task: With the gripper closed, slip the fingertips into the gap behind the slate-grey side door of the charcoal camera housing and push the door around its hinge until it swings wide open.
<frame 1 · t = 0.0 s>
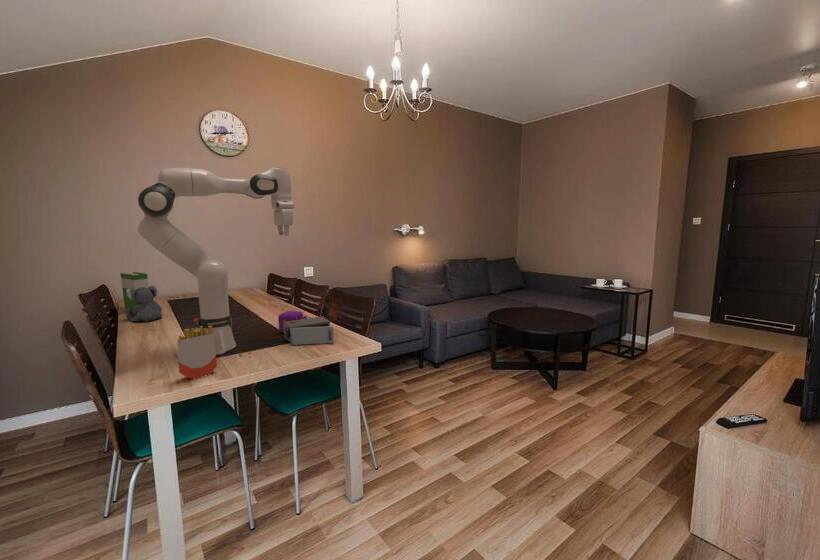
hand: (283, 235, 169), 48 cm above the table, tool pointing down, fingers open, 8 cm apart
green and white box: (138, 311, 229), on the table
side door: (312, 335, 163), point 4 cm above the table, hinge at 25.0°
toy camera: (294, 331, 184), on the table
french fries container: (199, 376, 131), on the table
koala plush: (147, 319, 210), on the table
camera housing: (308, 337, 173), on the table
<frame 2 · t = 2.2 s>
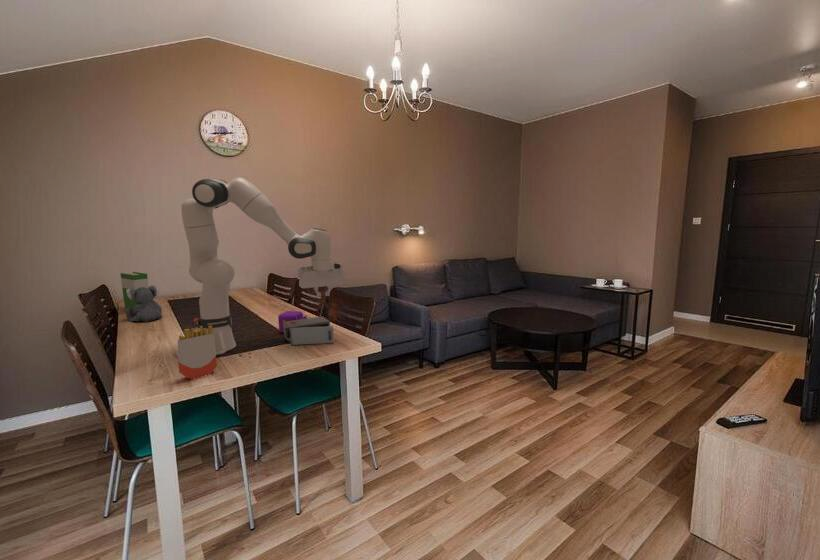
hand: (323, 296, 164), 21 cm above the table, tool pointing down, fingers open, 3 cm apart
nothing on the table moved.
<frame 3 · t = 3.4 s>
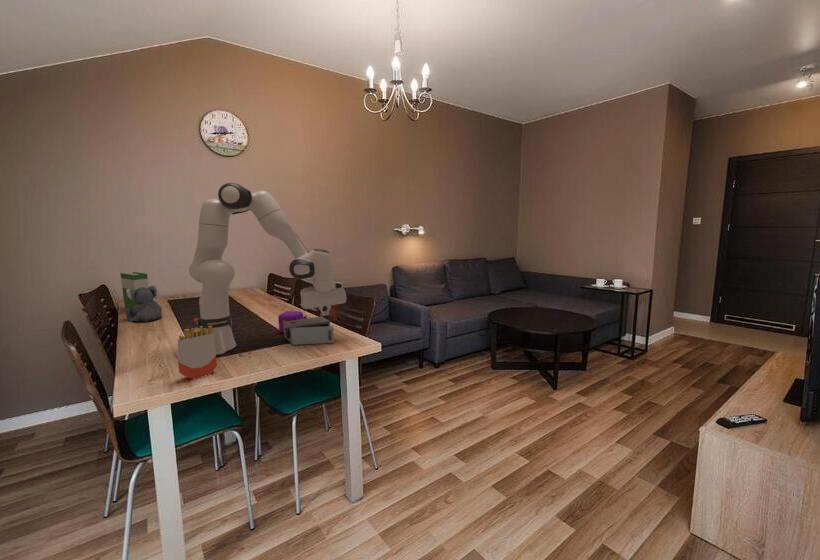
hand: (325, 315, 166), 12 cm above the table, tool pointing down, fingers closed
nothing on the table moved.
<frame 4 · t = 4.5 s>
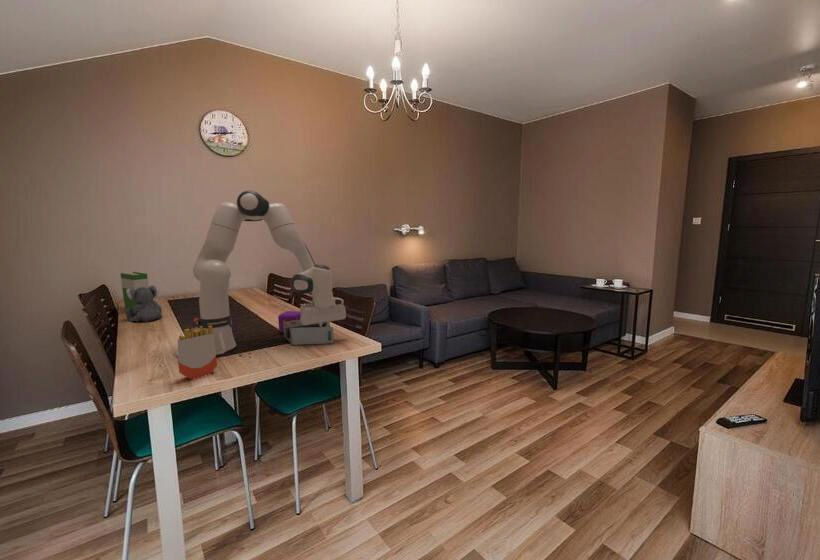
hand: (324, 331, 165), 5 cm above the table, tool pointing down, fingers closed
side door: (311, 336, 162), point 4 cm above the table, hinge at 27.6°, touching gripper
everything else where it was.
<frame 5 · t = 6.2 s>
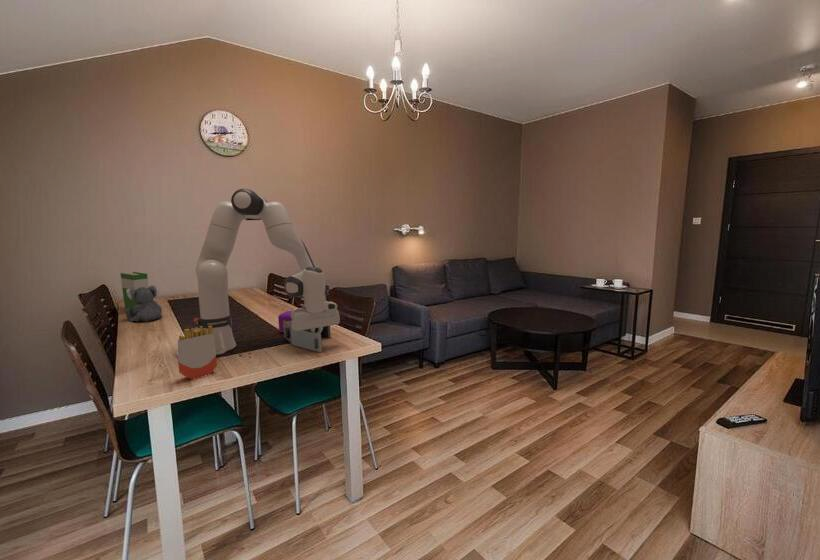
hand: (316, 337, 157), 5 cm above the table, tool pointing down, fingers closed
side door: (304, 340, 157), point 4 cm above the table, hinge at 66.7°, touching gripper
everything else where it was.
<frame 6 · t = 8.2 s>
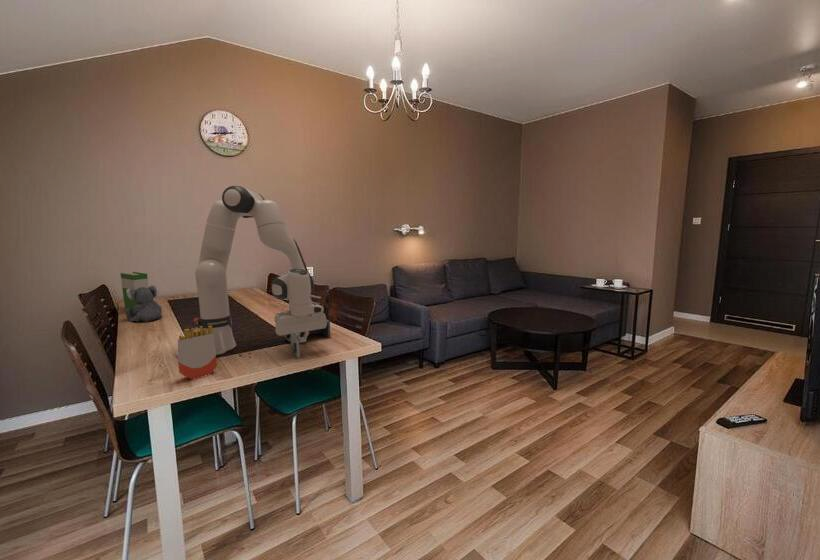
hand: (302, 342, 151), 5 cm above the table, tool pointing down, fingers closed
side door: (293, 342, 154), point 4 cm above the table, hinge at 97.9°, touching gripper
everything else where it was.
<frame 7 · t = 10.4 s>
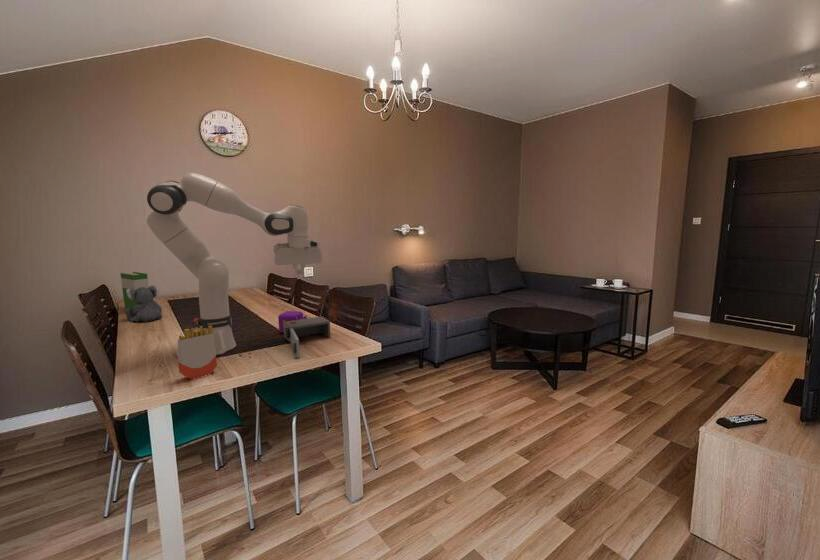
hand: (299, 274, 163), 31 cm above the table, tool pointing down, fingers closed
side door: (293, 342, 154), point 4 cm above the table, hinge at 97.9°
everything else where it was.
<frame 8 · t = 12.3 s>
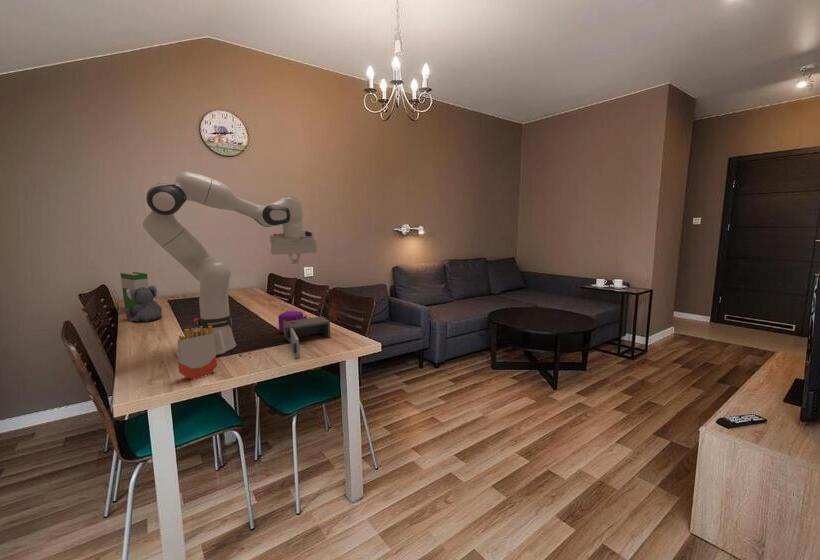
hand: (295, 263, 169), 35 cm above the table, tool pointing down, fingers closed
nothing on the table moved.
at the end: side door at +98° (first picture: +25°) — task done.
